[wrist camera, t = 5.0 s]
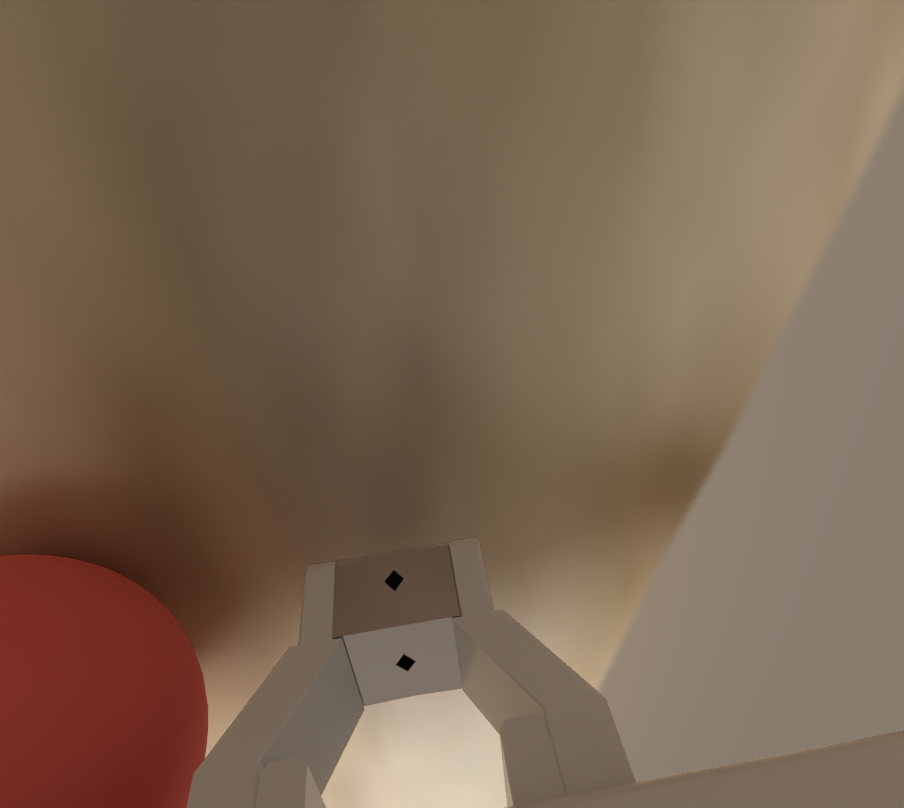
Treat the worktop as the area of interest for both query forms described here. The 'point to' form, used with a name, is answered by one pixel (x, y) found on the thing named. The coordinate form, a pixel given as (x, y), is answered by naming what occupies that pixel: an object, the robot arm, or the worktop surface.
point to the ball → (94, 690)
